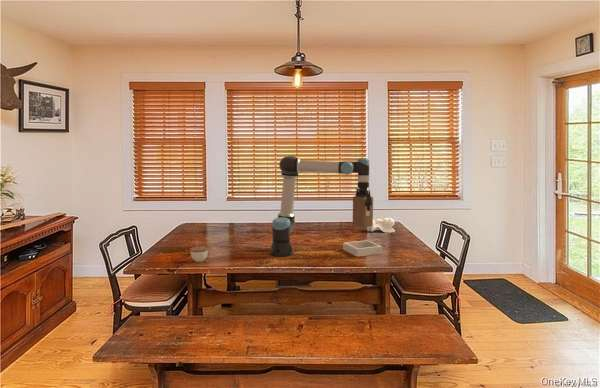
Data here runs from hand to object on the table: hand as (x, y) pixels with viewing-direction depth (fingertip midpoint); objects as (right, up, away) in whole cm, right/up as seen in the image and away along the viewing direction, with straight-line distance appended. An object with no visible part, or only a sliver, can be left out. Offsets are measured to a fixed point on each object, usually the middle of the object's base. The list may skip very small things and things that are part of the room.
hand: (362, 214), depth 268 cm
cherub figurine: (+27, -18, +68) cm, 76 cm away
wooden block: (0, -8, +1) cm, 8 cm away
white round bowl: (-105, -28, -16) cm, 110 cm away
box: (0, -25, +3) cm, 26 cm away
